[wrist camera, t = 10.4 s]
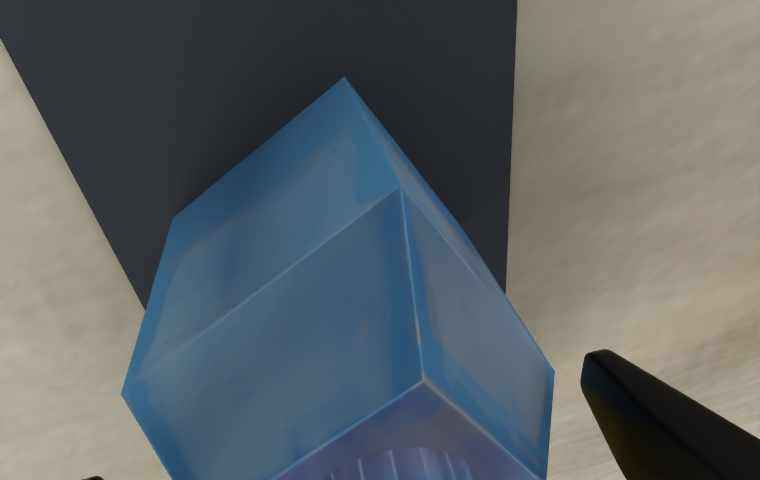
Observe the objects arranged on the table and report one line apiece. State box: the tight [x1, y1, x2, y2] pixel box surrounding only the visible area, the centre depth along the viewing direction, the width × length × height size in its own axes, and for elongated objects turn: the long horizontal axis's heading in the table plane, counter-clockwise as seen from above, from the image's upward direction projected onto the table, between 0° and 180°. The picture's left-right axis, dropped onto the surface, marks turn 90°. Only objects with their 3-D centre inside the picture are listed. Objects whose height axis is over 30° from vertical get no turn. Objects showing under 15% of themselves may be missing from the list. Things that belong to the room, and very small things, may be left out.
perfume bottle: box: [121, 76, 555, 480], centre depth 10 cm, size 6×6×12 cm
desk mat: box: [0, 0, 517, 311], centre depth 12 cm, size 12×20×1 cm, turn 7°
